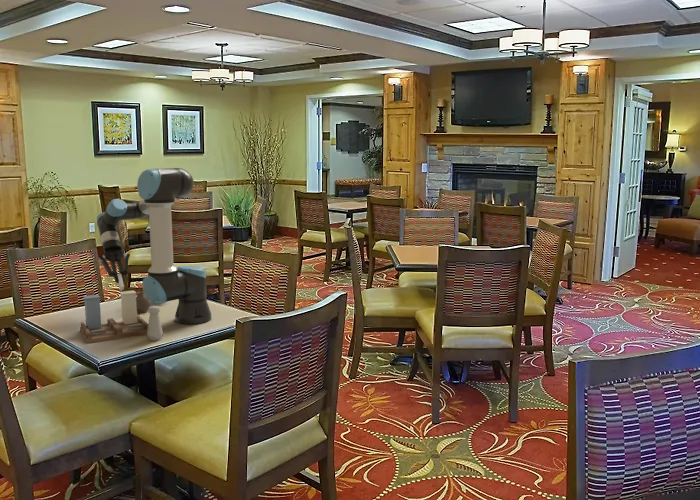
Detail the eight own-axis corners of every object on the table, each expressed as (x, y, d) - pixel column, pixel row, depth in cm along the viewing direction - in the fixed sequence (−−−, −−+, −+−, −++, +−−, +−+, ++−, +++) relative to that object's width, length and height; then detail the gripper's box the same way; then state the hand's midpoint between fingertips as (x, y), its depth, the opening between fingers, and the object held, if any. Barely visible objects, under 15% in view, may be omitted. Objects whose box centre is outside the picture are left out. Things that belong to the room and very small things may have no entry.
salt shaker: (154, 342, 237) (152, 309, 235) (144, 339, 240) (142, 307, 238) (166, 338, 242) (164, 305, 240) (156, 335, 245) (154, 303, 243)
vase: (153, 311, 280) (152, 292, 279) (141, 314, 275) (139, 295, 273) (143, 308, 284) (142, 290, 283) (130, 312, 278) (129, 293, 277)
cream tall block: (121, 322, 257) (120, 291, 255) (135, 320, 260) (133, 290, 258) (124, 324, 254) (122, 294, 251) (138, 322, 256) (136, 292, 254)
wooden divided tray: (80, 330, 251) (79, 322, 250) (138, 322, 263) (138, 314, 262) (88, 343, 236) (88, 334, 235) (150, 333, 248) (149, 325, 247)
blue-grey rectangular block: (85, 327, 250) (83, 296, 248) (99, 325, 253) (97, 294, 250) (87, 330, 246) (85, 298, 244) (102, 328, 249) (100, 296, 247)
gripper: (125, 247, 281) (136, 291, 270) (94, 249, 274) (104, 295, 263) (127, 237, 275) (139, 281, 264) (96, 239, 268) (106, 285, 258)
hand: (121, 288), depth 264 cm, fingers closed
